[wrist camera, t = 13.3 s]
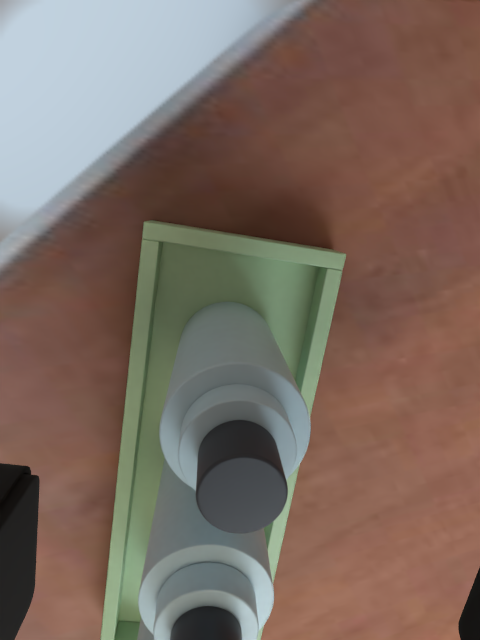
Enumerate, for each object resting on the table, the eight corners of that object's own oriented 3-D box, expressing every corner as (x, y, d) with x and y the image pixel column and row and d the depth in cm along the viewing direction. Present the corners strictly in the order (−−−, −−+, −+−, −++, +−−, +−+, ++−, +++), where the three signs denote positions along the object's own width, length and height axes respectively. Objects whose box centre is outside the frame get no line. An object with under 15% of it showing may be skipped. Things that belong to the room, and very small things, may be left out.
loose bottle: (186, 294, 22) (155, 395, 10) (281, 308, 22) (357, 419, 11) (174, 384, 23) (134, 567, 11) (264, 395, 23) (316, 582, 12)
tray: (150, 219, 21) (143, 220, 19) (334, 249, 22) (346, 254, 20) (107, 620, 27) (98, 653, 25) (252, 630, 28) (255, 662, 26)
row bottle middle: (170, 416, 23) (128, 623, 12) (259, 426, 24) (303, 634, 12) (159, 493, 25) (112, 751, 13) (244, 502, 25) (272, 757, 13)
